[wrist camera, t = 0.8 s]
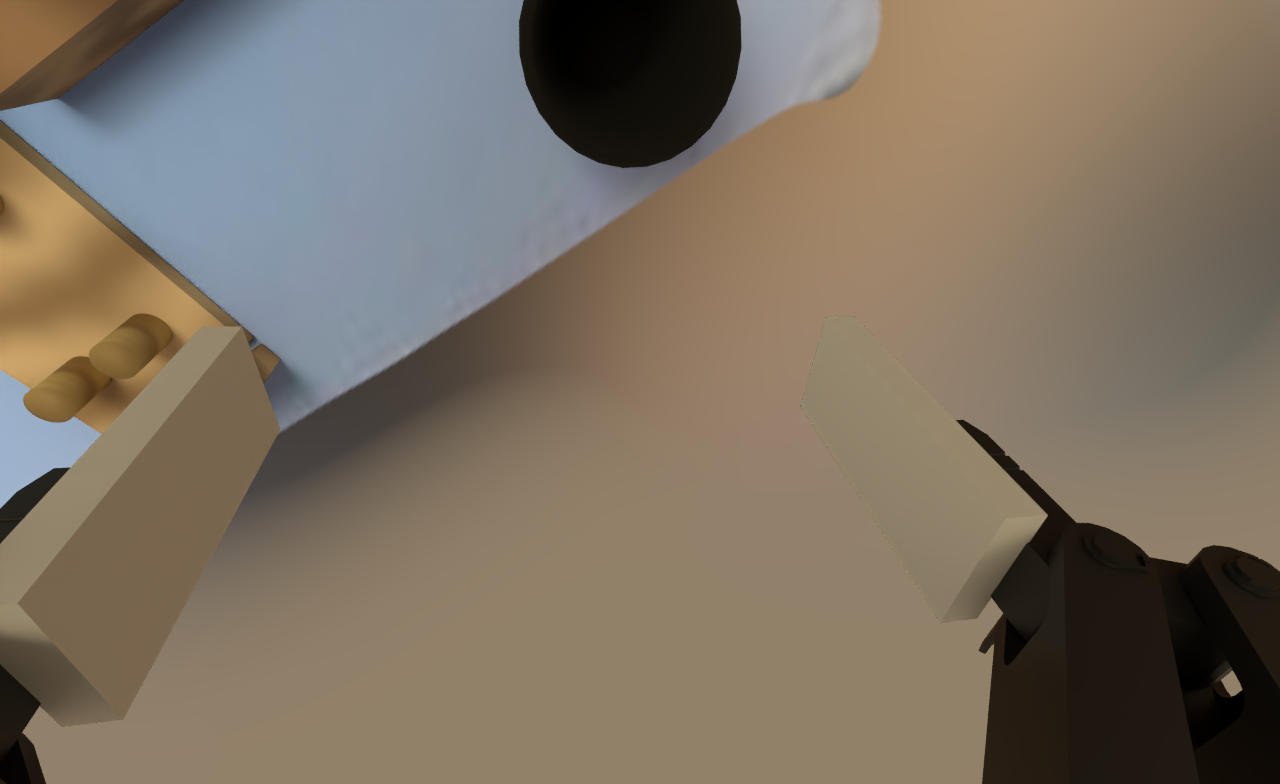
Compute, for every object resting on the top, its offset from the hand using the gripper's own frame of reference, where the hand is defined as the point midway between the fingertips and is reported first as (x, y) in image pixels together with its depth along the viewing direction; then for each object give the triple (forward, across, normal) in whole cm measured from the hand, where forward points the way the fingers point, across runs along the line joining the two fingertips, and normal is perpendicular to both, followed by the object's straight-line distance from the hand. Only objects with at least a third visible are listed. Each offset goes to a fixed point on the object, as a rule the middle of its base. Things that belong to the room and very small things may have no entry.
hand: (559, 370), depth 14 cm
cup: (+23, +3, +6) cm, 24 cm away
